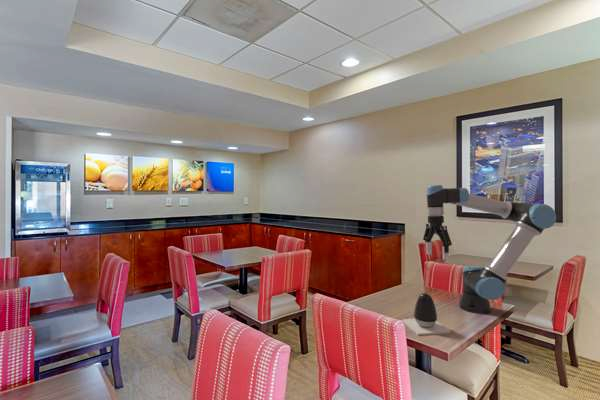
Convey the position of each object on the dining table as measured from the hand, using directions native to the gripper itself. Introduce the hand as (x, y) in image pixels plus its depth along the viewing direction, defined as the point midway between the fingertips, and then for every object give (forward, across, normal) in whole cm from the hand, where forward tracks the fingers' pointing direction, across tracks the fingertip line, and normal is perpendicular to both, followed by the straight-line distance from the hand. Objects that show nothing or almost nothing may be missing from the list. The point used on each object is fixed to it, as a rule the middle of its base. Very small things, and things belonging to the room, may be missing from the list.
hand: (437, 256), depth 163 cm
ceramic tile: (+30, +10, -15) cm, 35 cm away
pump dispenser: (+30, +10, -15) cm, 35 cm away
